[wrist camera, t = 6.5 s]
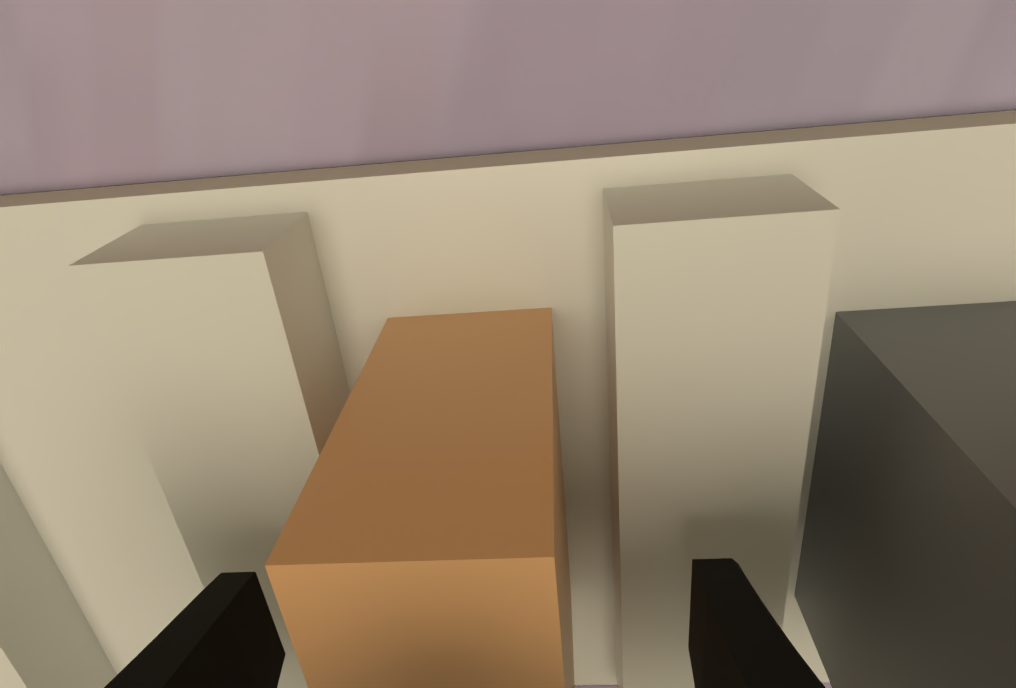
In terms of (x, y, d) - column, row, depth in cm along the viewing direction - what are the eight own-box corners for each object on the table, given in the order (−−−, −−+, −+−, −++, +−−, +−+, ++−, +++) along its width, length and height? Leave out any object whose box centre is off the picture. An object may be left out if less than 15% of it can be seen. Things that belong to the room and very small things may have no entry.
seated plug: (935, 592, 15) (1156, 931, 9) (793, 595, 15) (931, 928, 10) (1017, 300, 11) (1427, 566, 6) (836, 311, 12) (1075, 574, 6)
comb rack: (1059, 642, 17) (1157, 766, 14) (46, 659, 19) (-36, 767, 16) (1294, 85, 11) (1544, 117, 8) (-227, 214, 13) (-426, 271, 10)
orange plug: (570, 586, 15) (583, 906, 10) (441, 590, 15) (384, 903, 10) (551, 307, 12) (554, 556, 7) (387, 317, 12) (263, 565, 7)
